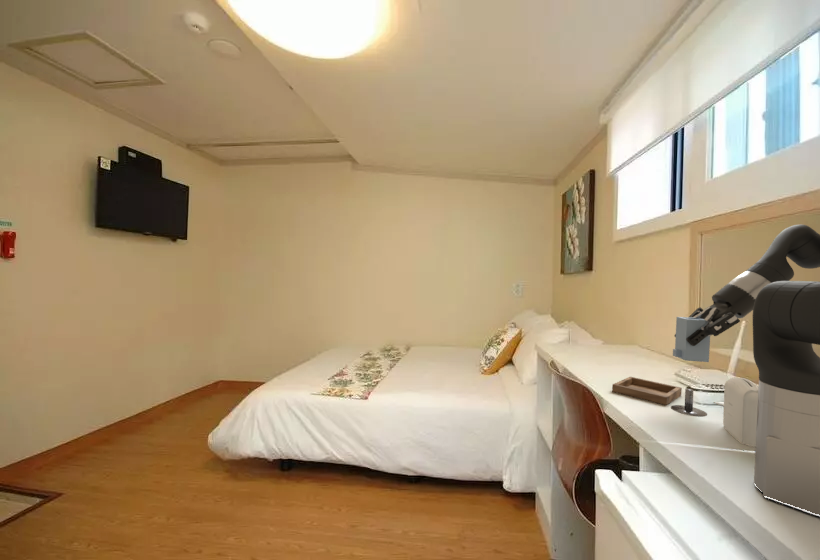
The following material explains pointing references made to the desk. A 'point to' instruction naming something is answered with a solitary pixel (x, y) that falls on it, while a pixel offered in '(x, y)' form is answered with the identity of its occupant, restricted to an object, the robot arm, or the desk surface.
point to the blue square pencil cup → (683, 348)
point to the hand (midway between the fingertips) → (683, 340)
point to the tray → (647, 390)
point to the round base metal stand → (688, 406)
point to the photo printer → (741, 409)
